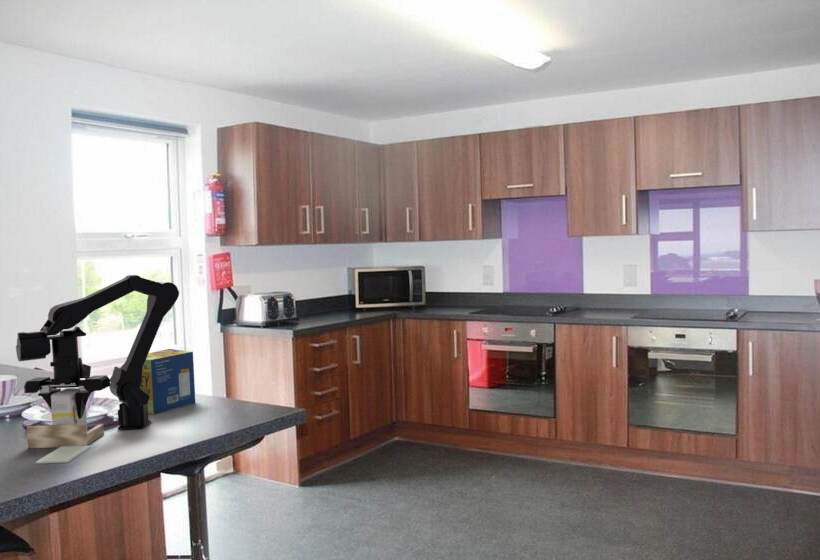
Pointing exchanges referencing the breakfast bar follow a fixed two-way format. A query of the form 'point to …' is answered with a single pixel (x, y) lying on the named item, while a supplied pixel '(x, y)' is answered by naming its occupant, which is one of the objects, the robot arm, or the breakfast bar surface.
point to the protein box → (168, 380)
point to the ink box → (66, 408)
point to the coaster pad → (63, 454)
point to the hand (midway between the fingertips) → (69, 418)
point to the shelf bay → (62, 435)
